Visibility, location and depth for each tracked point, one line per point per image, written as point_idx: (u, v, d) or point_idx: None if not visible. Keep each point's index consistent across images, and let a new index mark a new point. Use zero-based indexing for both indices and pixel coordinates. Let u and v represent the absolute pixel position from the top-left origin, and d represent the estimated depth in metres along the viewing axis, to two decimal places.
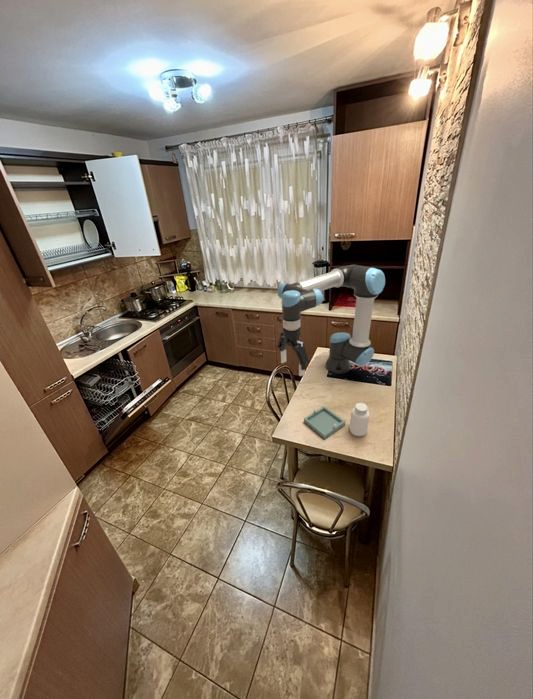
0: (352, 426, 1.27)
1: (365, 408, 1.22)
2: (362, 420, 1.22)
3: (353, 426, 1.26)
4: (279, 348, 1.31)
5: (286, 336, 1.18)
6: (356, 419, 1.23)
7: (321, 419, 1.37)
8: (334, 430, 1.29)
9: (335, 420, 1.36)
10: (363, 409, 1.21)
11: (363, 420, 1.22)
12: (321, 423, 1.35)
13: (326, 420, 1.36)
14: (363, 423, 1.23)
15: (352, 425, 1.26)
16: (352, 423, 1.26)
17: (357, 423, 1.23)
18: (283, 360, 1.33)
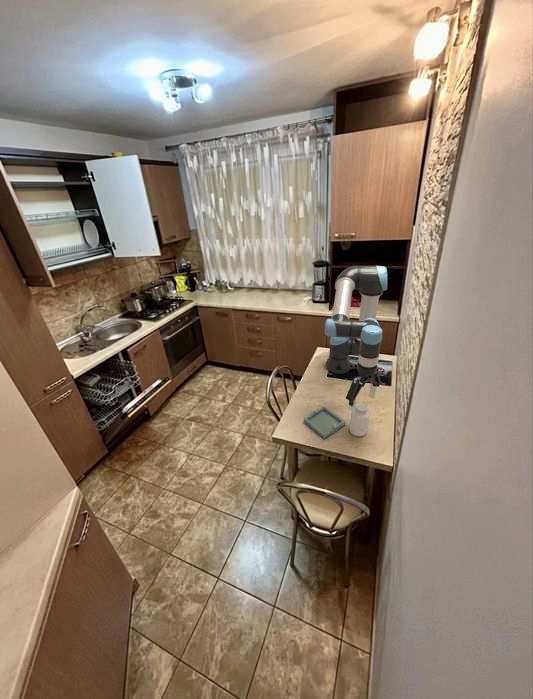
0: (352, 426, 1.27)
1: (365, 408, 1.22)
2: (362, 420, 1.22)
3: (353, 426, 1.26)
4: None
5: None
6: (356, 419, 1.23)
7: (321, 419, 1.37)
8: (334, 430, 1.29)
9: (335, 420, 1.36)
10: (363, 409, 1.21)
11: (363, 420, 1.22)
12: (321, 423, 1.35)
13: (326, 420, 1.36)
14: (363, 423, 1.23)
15: (352, 425, 1.26)
16: (352, 423, 1.26)
17: (357, 423, 1.23)
18: (370, 394, 1.25)
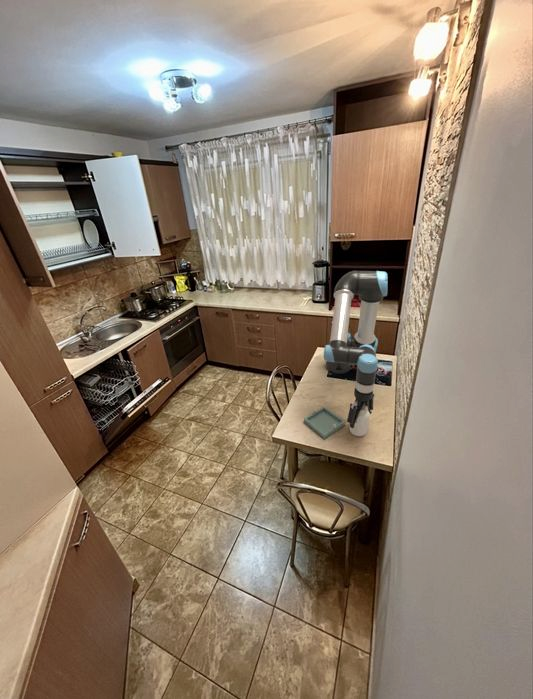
0: None
1: (365, 408, 1.22)
2: (362, 420, 1.22)
3: None
4: None
5: None
6: None
7: (321, 419, 1.37)
8: (334, 430, 1.29)
9: (335, 420, 1.36)
10: (363, 409, 1.21)
11: (363, 420, 1.22)
12: (321, 423, 1.35)
13: (326, 420, 1.36)
14: (363, 423, 1.23)
15: None
16: None
17: (357, 423, 1.23)
18: None
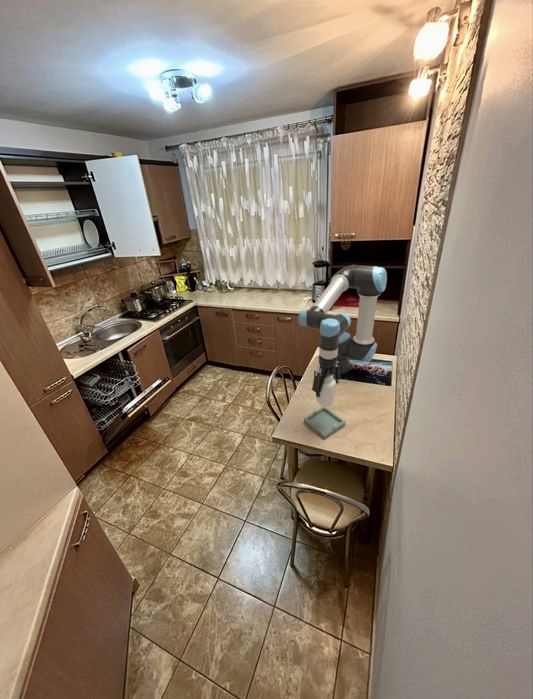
0: None
1: (330, 376, 1.19)
2: (327, 389, 1.20)
3: None
4: None
5: None
6: (322, 388, 1.21)
7: (321, 419, 1.37)
8: (334, 430, 1.29)
9: (335, 420, 1.36)
10: (328, 377, 1.19)
11: (329, 388, 1.20)
12: (321, 423, 1.35)
13: (326, 420, 1.36)
14: (328, 392, 1.21)
15: None
16: None
17: (323, 392, 1.21)
18: None
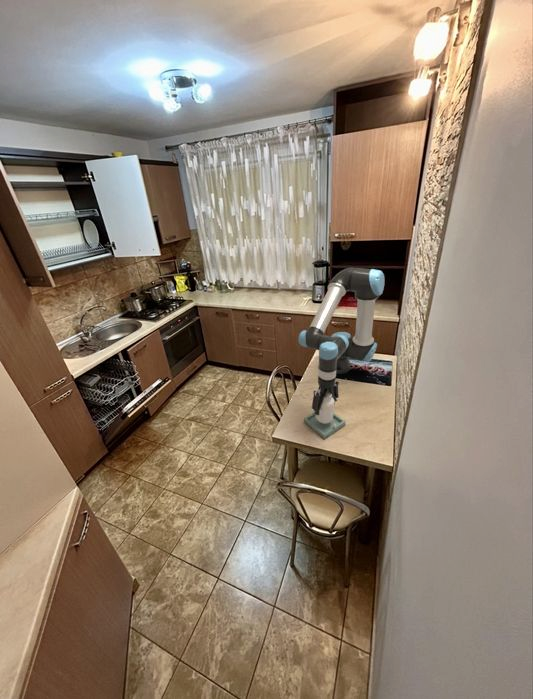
0: None
1: (329, 395, 1.25)
2: (326, 407, 1.25)
3: None
4: None
5: None
6: (321, 406, 1.26)
7: None
8: (334, 430, 1.29)
9: (335, 420, 1.36)
10: (327, 396, 1.24)
11: (328, 407, 1.25)
12: (321, 423, 1.35)
13: None
14: (327, 410, 1.26)
15: None
16: None
17: (322, 410, 1.27)
18: None
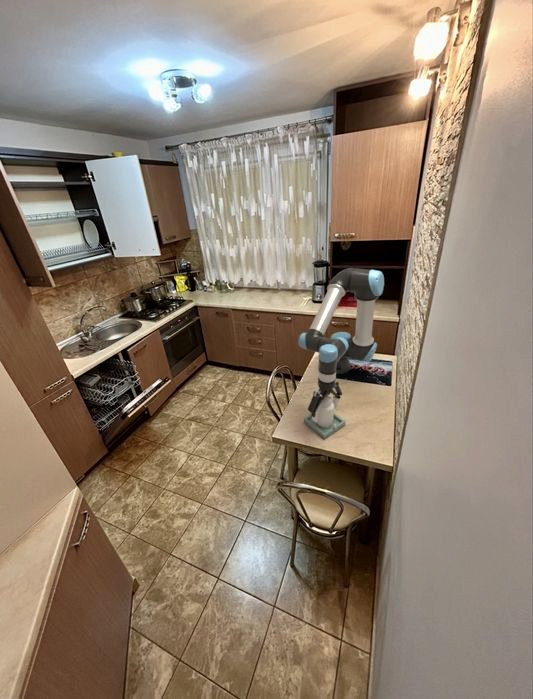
0: (318, 418, 1.31)
1: (329, 400, 1.26)
2: (326, 412, 1.26)
3: (318, 418, 1.31)
4: None
5: None
6: (321, 411, 1.27)
7: None
8: (334, 430, 1.29)
9: (335, 420, 1.36)
10: (327, 401, 1.26)
11: (328, 411, 1.26)
12: None
13: None
14: (327, 415, 1.27)
15: (318, 416, 1.31)
16: (318, 415, 1.31)
17: (322, 415, 1.28)
18: None
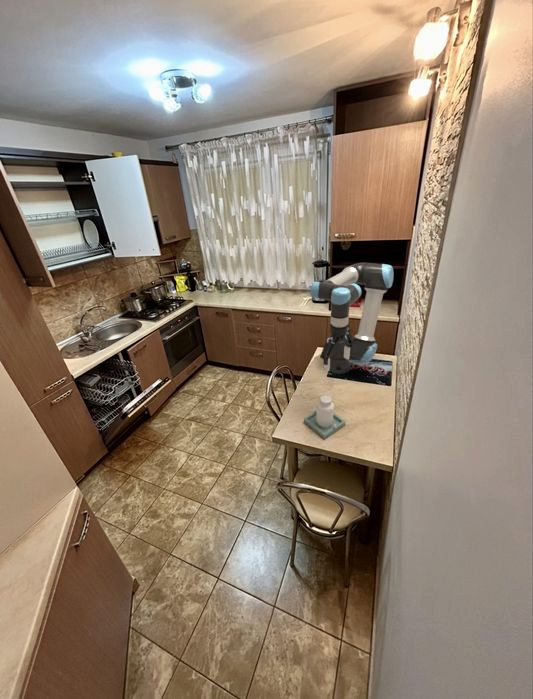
0: (318, 418, 1.31)
1: (329, 400, 1.26)
2: (326, 412, 1.27)
3: (318, 418, 1.31)
4: None
5: None
6: (320, 411, 1.27)
7: None
8: (334, 430, 1.29)
9: (335, 420, 1.36)
10: (327, 401, 1.26)
11: (327, 411, 1.26)
12: None
13: None
14: (327, 415, 1.27)
15: (317, 416, 1.31)
16: (317, 415, 1.31)
17: (322, 415, 1.28)
18: (345, 356, 1.34)
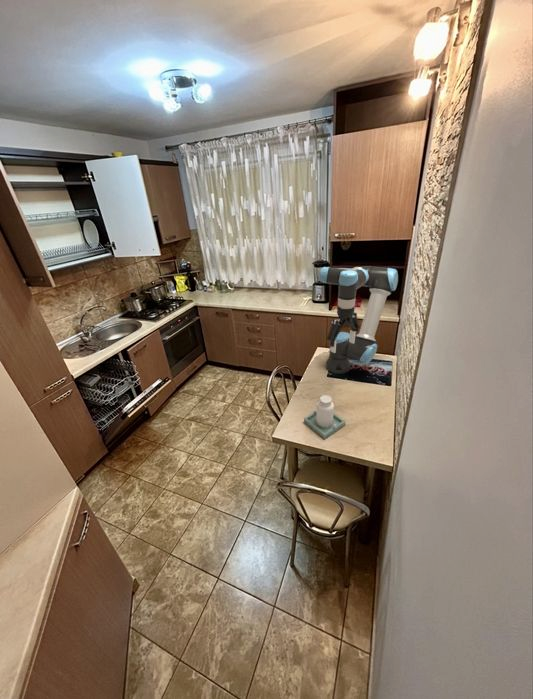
0: (318, 418, 1.31)
1: (329, 400, 1.26)
2: (326, 412, 1.27)
3: (318, 418, 1.31)
4: None
5: None
6: (321, 411, 1.27)
7: None
8: (334, 430, 1.29)
9: (335, 420, 1.36)
10: (327, 401, 1.26)
11: (327, 411, 1.26)
12: None
13: None
14: (327, 415, 1.27)
15: (317, 416, 1.31)
16: (318, 415, 1.31)
17: (322, 415, 1.28)
18: (350, 340, 1.38)
